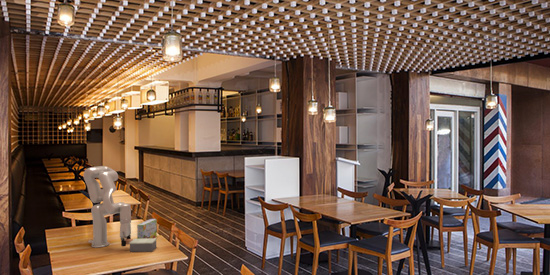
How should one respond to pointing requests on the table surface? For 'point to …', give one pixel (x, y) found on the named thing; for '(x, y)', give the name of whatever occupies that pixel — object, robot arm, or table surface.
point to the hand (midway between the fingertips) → (126, 244)
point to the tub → (142, 247)
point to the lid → (140, 241)
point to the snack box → (147, 229)
